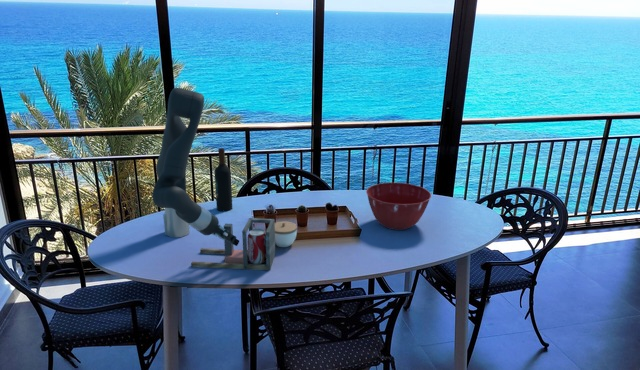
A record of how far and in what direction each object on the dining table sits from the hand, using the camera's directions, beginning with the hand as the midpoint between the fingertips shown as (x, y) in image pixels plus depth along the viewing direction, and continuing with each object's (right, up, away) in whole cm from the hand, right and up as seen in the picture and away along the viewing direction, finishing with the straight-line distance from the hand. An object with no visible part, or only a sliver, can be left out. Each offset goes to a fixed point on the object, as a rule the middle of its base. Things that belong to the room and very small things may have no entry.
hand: (230, 240), depth 166 cm
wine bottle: (-13, +9, +52) cm, 55 cm away
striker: (+2, -8, +2) cm, 8 cm away
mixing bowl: (+68, +2, +38) cm, 78 cm away
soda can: (+10, -8, +2) cm, 13 cm away
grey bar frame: (+2, -8, +2) cm, 8 cm away
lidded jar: (+19, -4, +17) cm, 25 cm away
